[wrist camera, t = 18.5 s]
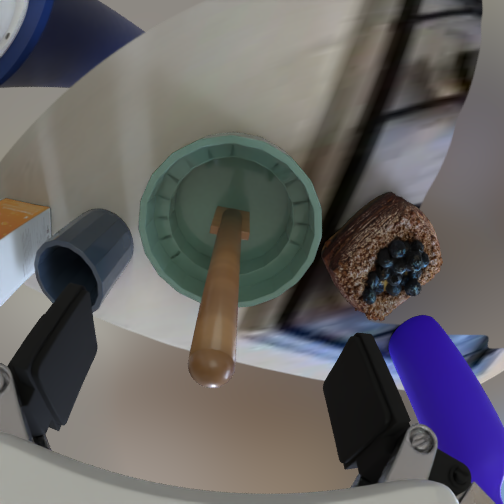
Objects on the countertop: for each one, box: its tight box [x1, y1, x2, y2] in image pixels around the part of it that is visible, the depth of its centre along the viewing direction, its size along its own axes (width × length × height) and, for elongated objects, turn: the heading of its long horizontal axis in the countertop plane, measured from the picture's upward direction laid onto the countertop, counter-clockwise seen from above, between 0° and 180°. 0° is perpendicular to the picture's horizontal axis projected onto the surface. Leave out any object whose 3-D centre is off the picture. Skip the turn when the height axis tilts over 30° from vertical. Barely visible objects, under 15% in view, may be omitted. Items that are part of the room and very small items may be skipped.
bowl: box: [139, 132, 322, 307], centre depth 25 cm, size 14×14×6 cm
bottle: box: [389, 315, 504, 504], centre depth 22 cm, size 8×8×30 cm
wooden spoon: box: [188, 206, 250, 388], centre depth 18 cm, size 2×3×19 cm, turn 78°
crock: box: [34, 209, 133, 313], centre depth 25 cm, size 7×7×8 cm
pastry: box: [321, 192, 443, 321], centre depth 27 cm, size 11×12×6 cm
